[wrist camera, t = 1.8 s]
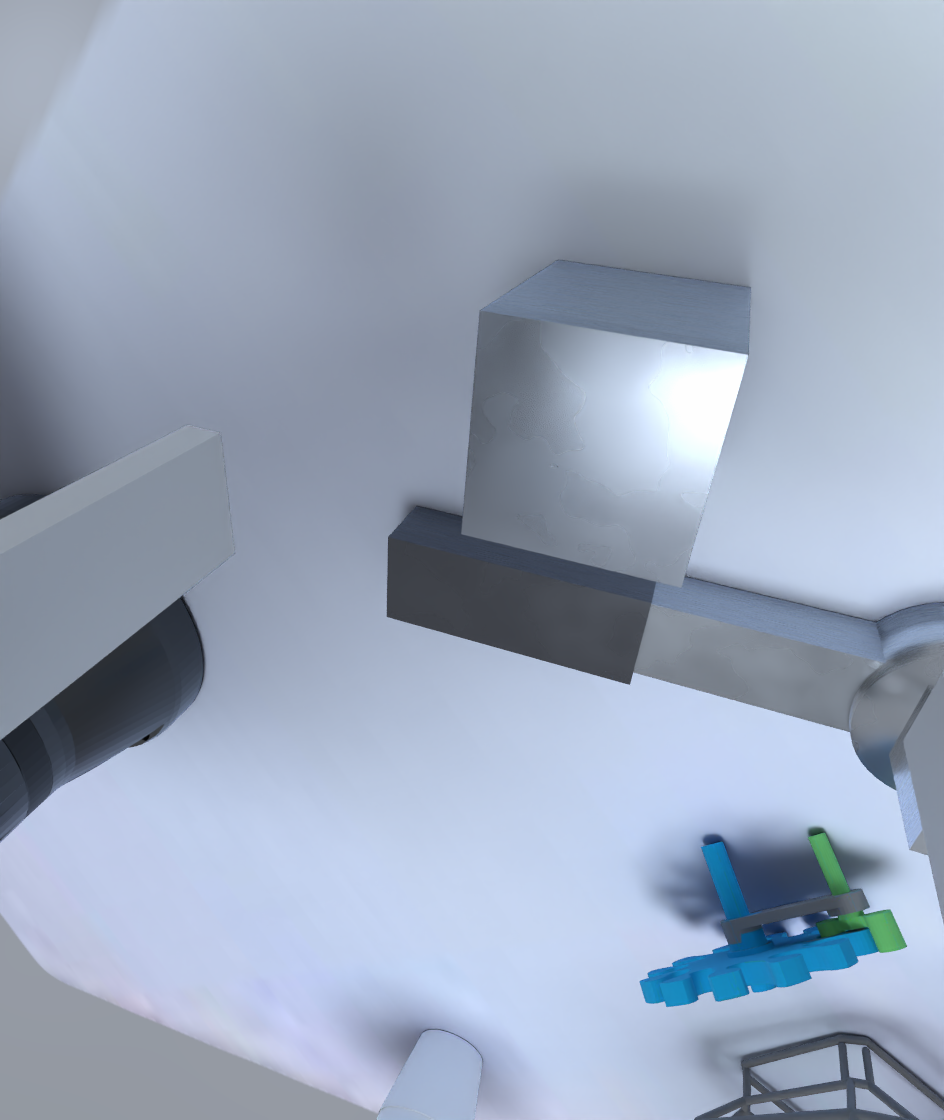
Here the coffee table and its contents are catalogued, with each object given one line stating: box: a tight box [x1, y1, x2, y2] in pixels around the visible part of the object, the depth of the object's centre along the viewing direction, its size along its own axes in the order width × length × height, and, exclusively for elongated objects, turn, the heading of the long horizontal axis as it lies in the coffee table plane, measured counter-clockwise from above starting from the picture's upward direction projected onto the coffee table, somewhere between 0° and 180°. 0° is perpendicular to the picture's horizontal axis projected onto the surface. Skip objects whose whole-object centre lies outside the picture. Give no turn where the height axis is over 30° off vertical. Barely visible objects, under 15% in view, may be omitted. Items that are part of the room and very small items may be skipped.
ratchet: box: [387, 506, 944, 855], centre depth 25 cm, size 24×6×7 cm, turn 86°
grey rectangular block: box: [461, 260, 751, 588], centre depth 21 cm, size 6×6×8 cm
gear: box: [640, 833, 907, 1007], centre depth 31 cm, size 11×6×10 cm
